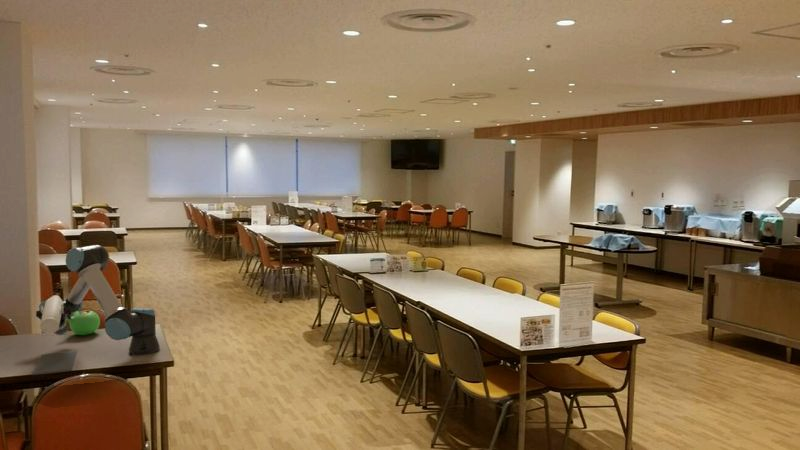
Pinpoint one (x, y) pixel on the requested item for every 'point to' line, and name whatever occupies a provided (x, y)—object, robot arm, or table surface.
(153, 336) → the robot arm
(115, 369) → the table surface
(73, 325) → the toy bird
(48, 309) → the bottle
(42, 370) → the mat
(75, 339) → the table surface
